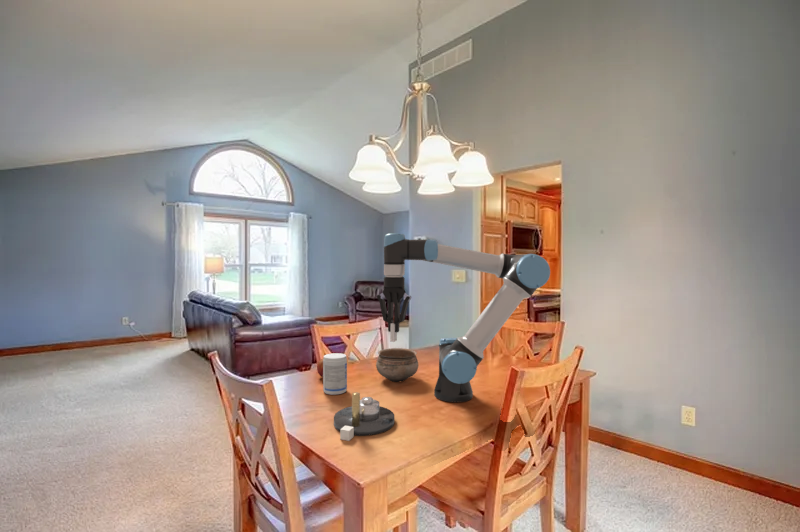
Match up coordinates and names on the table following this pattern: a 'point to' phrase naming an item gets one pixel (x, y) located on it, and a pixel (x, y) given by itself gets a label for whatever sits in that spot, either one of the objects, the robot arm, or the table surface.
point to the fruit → (320, 367)
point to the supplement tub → (334, 373)
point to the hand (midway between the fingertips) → (393, 340)
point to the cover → (369, 409)
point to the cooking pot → (397, 363)
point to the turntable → (352, 418)
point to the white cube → (347, 433)
